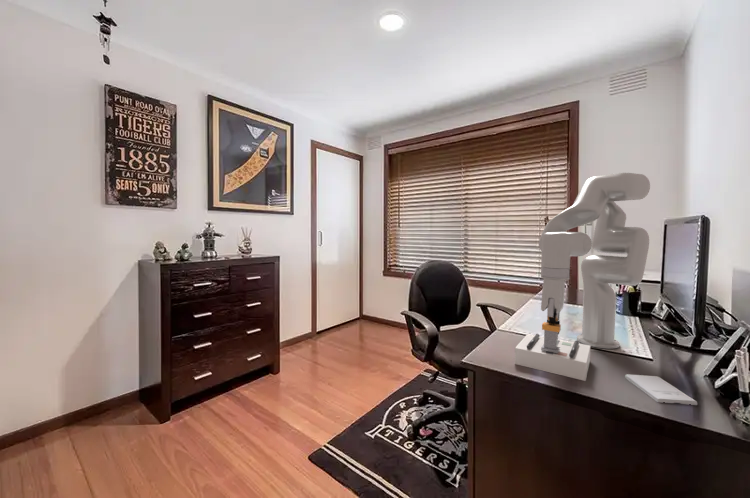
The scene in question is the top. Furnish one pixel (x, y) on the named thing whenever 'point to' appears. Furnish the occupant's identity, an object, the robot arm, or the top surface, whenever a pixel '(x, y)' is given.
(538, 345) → the switch box
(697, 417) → the top surface
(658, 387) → the external hard drive
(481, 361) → the top surface
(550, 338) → the switch handle
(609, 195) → the robot arm
